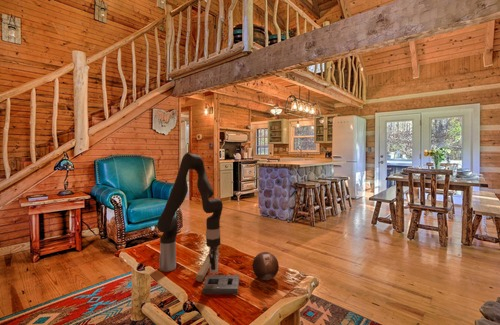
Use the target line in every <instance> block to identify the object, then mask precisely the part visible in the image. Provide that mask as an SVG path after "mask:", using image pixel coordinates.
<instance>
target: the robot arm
mask: <svg viewBox="0 0 500 325" xmlns="http://www.w3.org/2000/svg"><path fill="white" fill-rule="evenodd" d="M190 170H194V172H196V174H197V182H196V186H197V190H198V192H199V195H200V197H201V203H202V204H201V205H202V210H203V211H204V213H206V214H211V215H210V216H208V217H207V218H206V229H205V230H206V232H205V236H206V237H205V238H206V239H205V241H206V242H205V243H206V244H205V245H206V247H208V248H209V251H208V254H209V253H210V254H209V258H210V263H211V270H215V262H216V261H215V258H216V256H217V250H219V246H220V245H221V229H220V228H221V226H220V225H221V224H220V223H221V221H220V220H221V215H222V212H223V208H224V207H223V202H222V199H221V198H212V197H213V196H214V194H215V193H214V190H213V187H212V186H211V183H210V181H209V178H208V176H207V171H206V168H205V164H204V160H203V158H202V156H201V155H199V154H195V153H190V152H187V153H184V154H183V156H182V159H181V162H180V164H179V168H178V173H177V175H176V177H175V180H174V183H173V186H172V187H171V191H170V193H169V196H168V199H167V201H166V203H165V206H164V208H163V210H162V213H161V214H160V215H159V218H158V220H157V224H156V226H157V229H158V231H159V232H160V233H162V235H161V236H160V238H159V242H160V243H159V244H160V246H159V248H160V249H159V250H160V251H159V252H160V254H159V255H158V258H159V259H158V261H159V266H158V267H159V271H161V272H166V273H167V272H171V271H174V270H176V269H177V242H176V241H177V240H176V239H177V235H178V220H177V217H176V216H175V214H176V213H177V211H178V210H179V209H180V207H181V206H182V205H183V203H184V202H185V199H186V197H187V194H188V191H189V185H188V180H187V176H188V174H189V171H190ZM211 198H212V199H211ZM217 246H218V247H217ZM214 256H215V257H214ZM212 260H213V261H212Z"/></svg>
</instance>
